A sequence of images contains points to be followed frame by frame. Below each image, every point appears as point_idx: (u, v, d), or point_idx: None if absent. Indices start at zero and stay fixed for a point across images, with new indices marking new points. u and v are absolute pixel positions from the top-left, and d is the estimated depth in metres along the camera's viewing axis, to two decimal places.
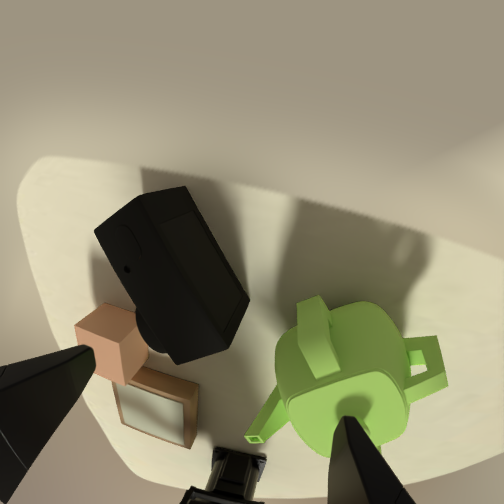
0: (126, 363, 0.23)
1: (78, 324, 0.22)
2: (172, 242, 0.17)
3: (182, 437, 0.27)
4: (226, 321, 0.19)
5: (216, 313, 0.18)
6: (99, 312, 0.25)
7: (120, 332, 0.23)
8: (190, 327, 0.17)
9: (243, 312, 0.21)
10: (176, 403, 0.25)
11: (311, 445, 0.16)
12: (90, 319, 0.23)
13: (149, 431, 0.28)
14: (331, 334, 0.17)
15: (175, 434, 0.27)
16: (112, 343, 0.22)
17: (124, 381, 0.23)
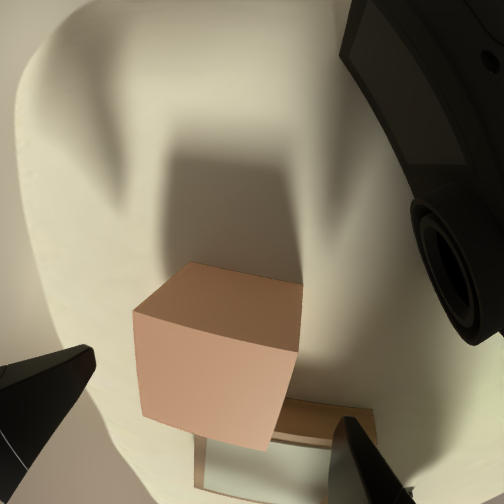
0: None
1: (144, 308, 0.09)
2: None
3: (320, 499, 0.13)
4: None
5: None
6: (190, 280, 0.11)
7: (279, 323, 0.09)
8: None
9: None
10: None
11: None
12: (174, 295, 0.10)
13: (253, 497, 0.14)
14: None
15: (308, 497, 0.13)
16: (270, 356, 0.08)
17: (268, 441, 0.09)
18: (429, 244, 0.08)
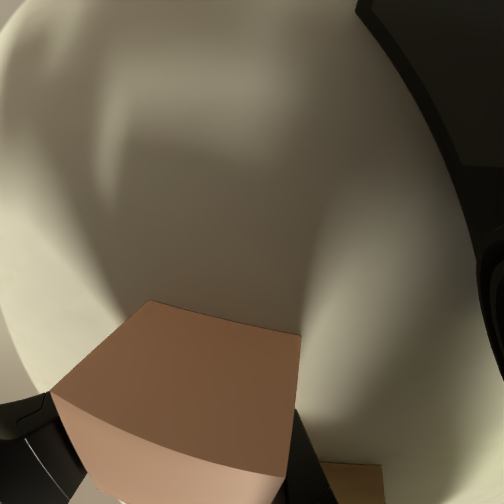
0: None
1: (66, 387, 0.05)
2: None
3: None
4: None
5: None
6: (139, 335, 0.07)
7: (260, 419, 0.05)
8: None
9: None
10: None
11: None
12: (111, 363, 0.06)
13: None
14: None
15: None
16: (242, 477, 0.04)
17: None
18: (501, 294, 0.04)
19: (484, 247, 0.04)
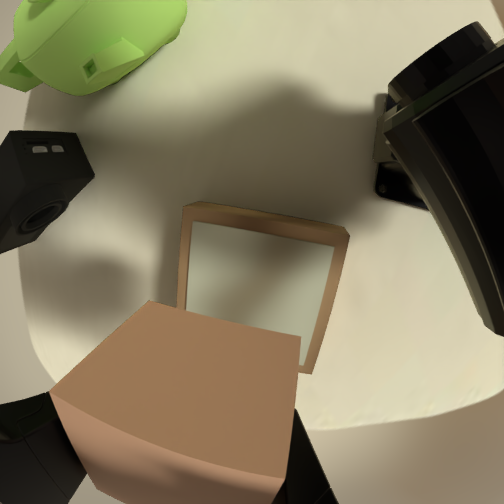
0: None
1: (65, 388, 0.05)
2: None
3: (304, 244, 0.15)
4: None
5: None
6: (139, 336, 0.07)
7: (259, 419, 0.05)
8: None
9: (56, 132, 0.16)
10: (195, 233, 0.16)
11: (83, 0, 0.08)
12: (111, 364, 0.06)
13: (311, 318, 0.16)
14: None
15: (296, 258, 0.15)
16: (242, 478, 0.04)
17: None
18: (50, 215, 0.17)
19: (45, 225, 0.18)
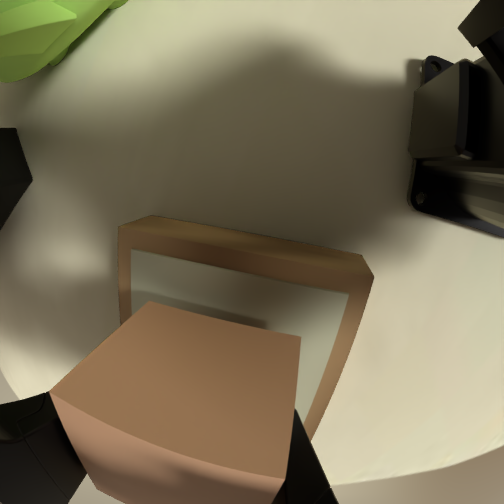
0: None
1: (65, 388, 0.05)
2: None
3: (300, 289, 0.09)
4: None
5: None
6: (139, 336, 0.07)
7: (259, 419, 0.05)
8: None
9: None
10: (135, 267, 0.10)
11: None
12: (111, 364, 0.06)
13: (308, 390, 0.10)
14: None
15: (287, 311, 0.10)
16: (242, 478, 0.04)
17: None
18: None
19: None
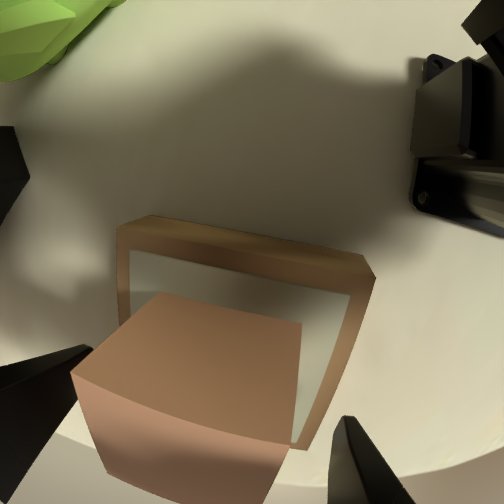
0: None
1: (86, 368, 0.06)
2: None
3: (301, 290, 0.09)
4: None
5: None
6: (153, 322, 0.08)
7: (266, 393, 0.06)
8: None
9: None
10: (134, 268, 0.10)
11: None
12: (128, 347, 0.07)
13: (308, 392, 0.10)
14: None
15: (288, 313, 0.09)
16: (251, 446, 0.05)
17: None
18: None
19: None
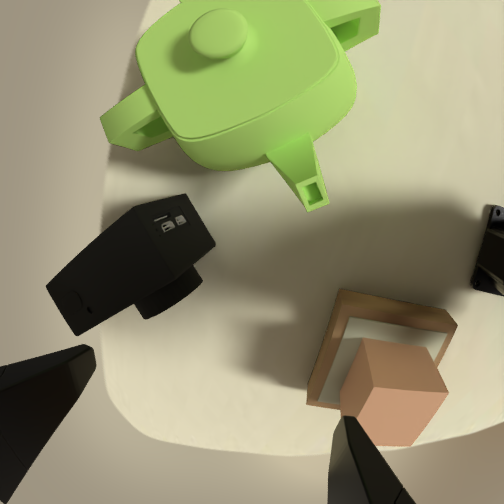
0: None
1: (377, 383, 0.13)
2: None
3: (429, 332, 0.17)
4: None
5: None
6: (377, 355, 0.16)
7: (433, 377, 0.14)
8: (118, 250, 0.15)
9: (171, 197, 0.18)
10: (349, 326, 0.18)
11: (295, 89, 0.10)
12: (381, 369, 0.15)
13: None
14: None
15: (421, 342, 0.17)
16: (437, 396, 0.13)
17: (414, 440, 0.14)
18: None
19: None
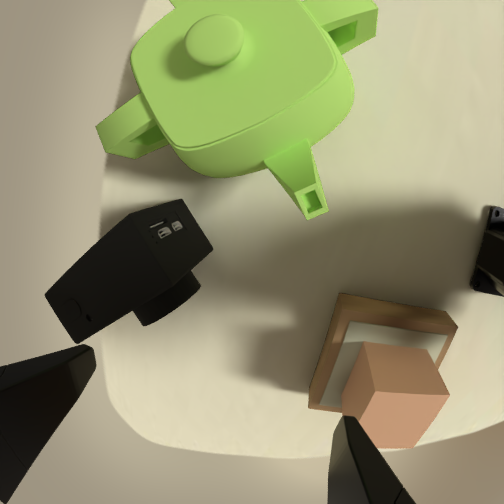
0: None
1: (378, 387, 0.13)
2: None
3: (429, 335, 0.17)
4: None
5: None
6: (378, 359, 0.16)
7: (434, 380, 0.14)
8: (115, 257, 0.15)
9: (166, 203, 0.18)
10: (350, 330, 0.18)
11: (293, 96, 0.10)
12: (382, 373, 0.15)
13: None
14: None
15: (422, 345, 0.17)
16: (438, 398, 0.13)
17: (416, 442, 0.14)
18: None
19: None
